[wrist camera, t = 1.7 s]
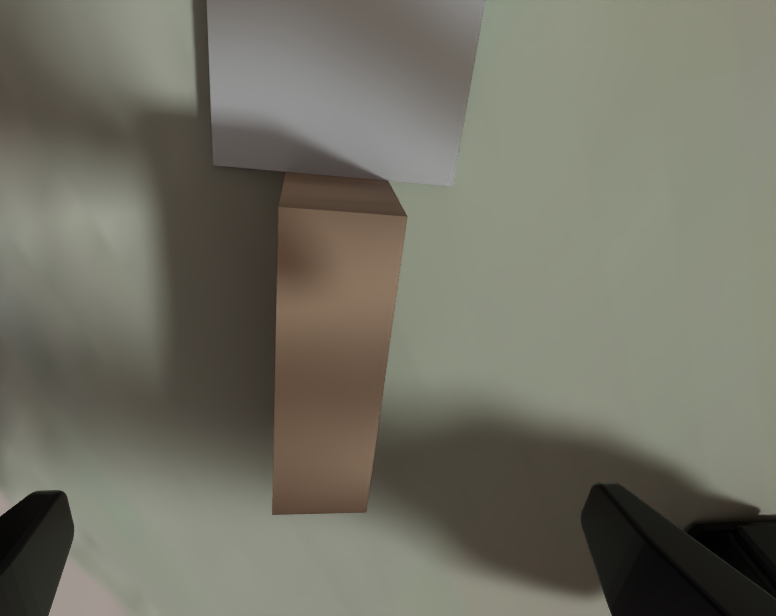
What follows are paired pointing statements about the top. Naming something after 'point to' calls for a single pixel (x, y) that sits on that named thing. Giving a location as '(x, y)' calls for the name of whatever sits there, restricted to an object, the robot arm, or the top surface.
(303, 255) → the turner
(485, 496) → the top surface
